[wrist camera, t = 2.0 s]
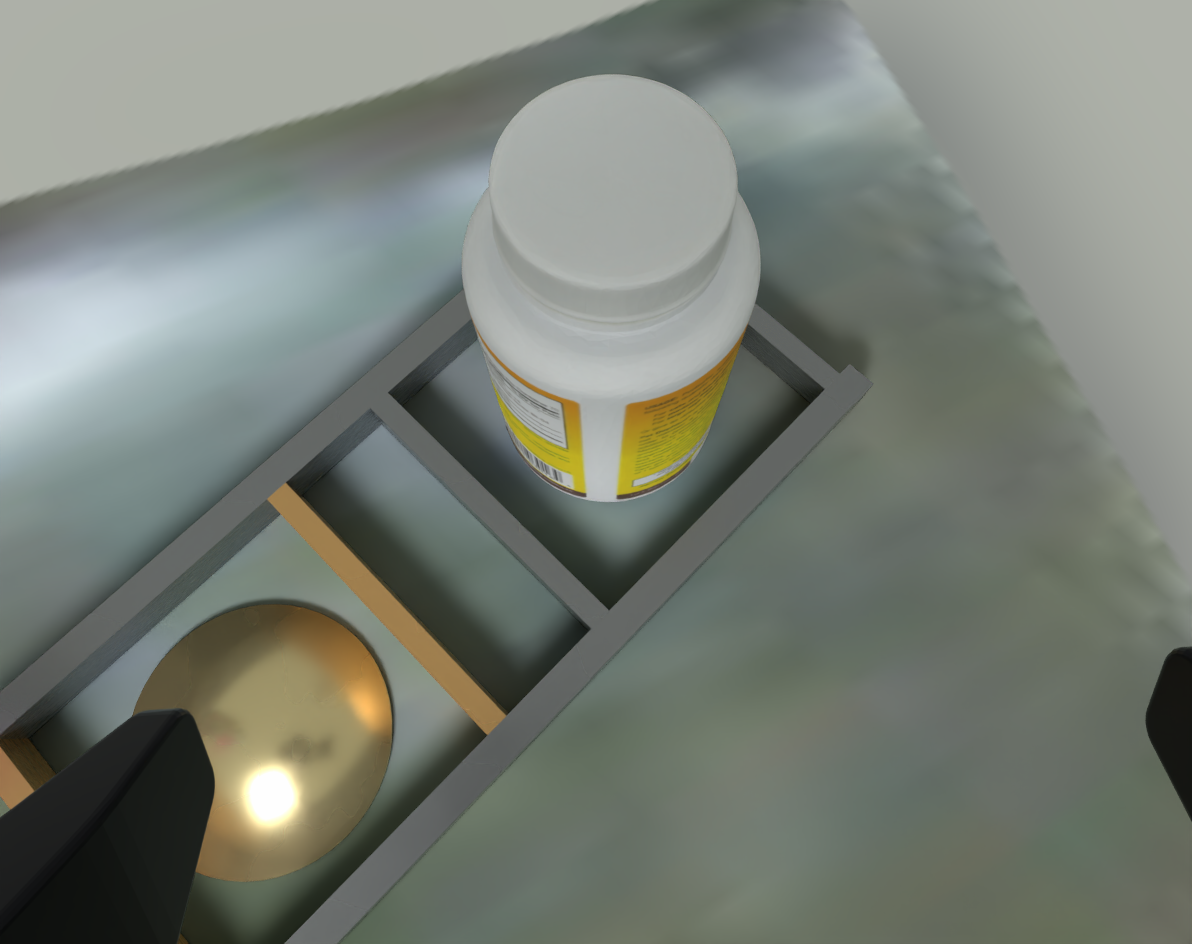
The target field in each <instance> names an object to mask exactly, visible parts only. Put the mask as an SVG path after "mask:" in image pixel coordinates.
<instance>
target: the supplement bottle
mask: <svg viewBox="0 0 1192 944" xmlns="http://www.w3.org/2000/svg"><path fill="white" fill-rule="evenodd" d="M488 183H489V187H488V188H487V189H486V191H485V192H484V193H483V195H482V197H481V198H480V200H479V202H478V204H477V206H476V208H475V210H474V212H473V214H472V216H471V219H470V221H469V224H468V227H467V231H466V235H465V239H464V244H463V250H462V279H463V286H464V291H465V296H466V301H467V305H468V308H469V312H470V315H471V318H472V321H473V324H474V327H475V330H476V333H477V336H478V340H479V343H480V346H481V349H482V352H483V355H484V358H485V361H486V364H487V367H488V371H489V374H490V377H491V381H492V384H493V387H494V390H495V392H496V395H497V399H498V402H499V405H500V407H501V410H502V413H503V417H504V420H505V423H506V428H507V431H508V432H509V435H510V437H511V439H512V441H513V444H514V446H515V447H516V449H517V451H518V453H519V454H520V456H521V457H522V459H523V460H524V462H525V463H526V464H527V465H528V466H529V468H530V469H531V470H532V471H533V472H534V473H535V474H537V475H538V476H539V477H540V478H541V479H542V480H544V481H545V482H546V483H548V484H549V485H551V486H553V487H554V488H556V489H558V490H560V491H562V492H564V493H566V494H569V495H572V496H575V497H578V498H581V499H585V500H591V501H599V502H619V501H626V500H631V499H636V498H639V497H643V496H646V495H648V494H651V493H653V492H655V491H657V490H659V489H661V488H662V487H664V486H666V485H667V484H669V483H671V482H672V481H673V480H675V479H676V478H677V477H679V476H680V475H681V474H682V473H683V472H684V471H685V470H686V469H687V468H688V467H689V465H690V464H691V463H692V462H693V461H694V459H695V458H696V456H697V455H698V453H699V451H700V450H701V448H702V446H703V444H704V442H705V440H706V438H707V435H708V433H709V430H710V427H711V424H712V421H713V419H714V416H715V413H716V410H717V408H718V405H719V402H720V399H721V397H722V394H723V391H724V389H725V386H726V383H727V380H728V377H729V374H730V372H731V369H732V366H733V363H734V361H735V358H736V355H737V352H738V350H739V347H740V344H741V342H742V339H743V336H744V333H745V331H746V328H747V325H748V322H749V319H750V317H751V314H752V311H753V308H754V305H755V301H756V297H757V292H758V288H759V283H760V273H761V256H760V246H759V240H758V236H757V231H756V228H755V224H754V222H753V220H752V217H751V215H750V212H749V210H748V208H747V206H746V204H745V202H744V200H743V199H742V197H741V195H740V194H739V192H738V176H737V169H736V163H735V159H734V156H733V152H732V150H731V147H730V145H729V142H728V140H727V138H726V137H725V135H724V133H723V131H722V130H721V128H720V127H719V126H718V124H717V123H716V122H715V120H714V119H713V118H712V117H711V116H710V115H709V114H708V113H707V111H706V110H705V109H704V108H703V107H701V106H700V105H699V104H698V103H696V102H695V101H694V100H692V99H691V98H690V97H688V96H687V95H685V94H683V93H681V92H680V91H678V90H676V89H674V88H672V87H670V86H667V85H665V84H663V83H660V82H657V81H654V80H650V79H646V78H642V77H636V76H629V75H622V74H603V75H595V76H588V77H583V78H578V79H575V80H571V81H568V82H565V83H563V84H561V85H558V86H555V87H553V88H551V89H549V90H547V91H545V92H544V93H542V94H541V95H539V96H537V97H536V98H534V99H533V100H532V101H530V102H529V103H528V104H527V105H525V106H524V107H523V108H522V109H521V110H520V111H519V112H518V113H517V114H516V115H515V117H514V118H513V119H512V120H511V121H510V123H509V124H508V125H507V127H506V128H505V130H504V131H503V133H502V135H501V137H500V138H499V140H498V142H497V145H496V147H495V150H494V153H493V156H492V160H491V165H490V171H489V180H488Z"/></svg>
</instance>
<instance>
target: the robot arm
mask: <svg viewBox="0 0 1192 944" xmlns="http://www.w3.org/2000/svg"><path fill="white" fill-rule="evenodd" d="M1146 728H1147V732H1148V736H1149V738H1150V741H1151V743H1152V745H1153V747H1154V749H1155V751H1156V753H1157V755H1158V757H1159V759H1160V761H1161V763H1162V765H1163V767H1164V769H1165V770H1166V772H1167V774H1168V776H1169V778H1170V780H1171V782H1172V784H1173V786H1174V788H1175V790H1176V792H1177V794H1178V796H1179V798H1180V800H1181V802H1182V804H1183V806H1184V808H1185V810H1186V811H1187V813H1188V815H1189V817H1190V819H1191V821H1192V647H1180V648H1177V649H1174V650H1173V651H1172V652H1171V653H1170V654H1169V655H1168V656H1167V657H1166V659H1165V661H1164V664H1163V666H1162V669H1161V672H1160V675H1159V677H1158V680H1157V683H1156V686H1155V688H1154V691H1153V694H1152V697H1151V699H1150V702H1149V705H1148V708H1147V711H1146ZM214 792H215V776H214V771H213V767H212V765H211V762H210V759H209V756H208V754H207V751H206V748H205V745H204V743H203V740H202V737H201V734H200V732H199V729H198V726H197V724H196V721H195V719H194V717H193V715H192V714H191V713H190V712H189V711H188V710H186V709H181V708H174V709H158V710H146V711H142V712H139V713H137V714H135V715H134V716H132V717H131V718H129V719H128V720H127V721H126V722H124V723H123V724H122V725H120V726H119V727H118V728H116V729H115V730H114V731H112V732H111V733H110V734H109V735H107V736H106V737H105V738H103V739H102V740H101V741H99V742H98V743H97V744H95V745H94V746H93V747H92V748H90V749H89V750H88V751H86V752H85V753H84V754H82V755H81V756H80V757H79V758H77V759H76V760H75V761H73V762H72V763H71V764H69V765H68V766H67V767H65V768H64V769H63V770H62V771H60V772H59V773H58V774H56V775H55V776H54V777H52V778H51V779H50V780H48V781H47V782H46V783H45V784H43V785H42V786H41V787H39V788H38V789H37V790H35V791H34V792H33V793H32V794H30V795H29V796H28V797H26V798H25V799H24V800H22V801H21V802H20V803H18V804H17V805H16V806H15V807H13V808H12V809H11V810H9V811H8V812H7V813H5V814H4V815H3V816H1V817H0V944H177V943H178V940H179V936H180V932H181V928H182V924H183V920H184V916H185V912H186V908H187V904H188V900H189V896H190V892H191V888H192V884H193V879H194V875H195V871H196V867H197V863H198V859H199V855H200V851H201V847H202V843H203V839H204V835H205V831H206V827H207V823H208V819H209V815H210V811H211V807H212V803H213V798H214Z"/></svg>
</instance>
